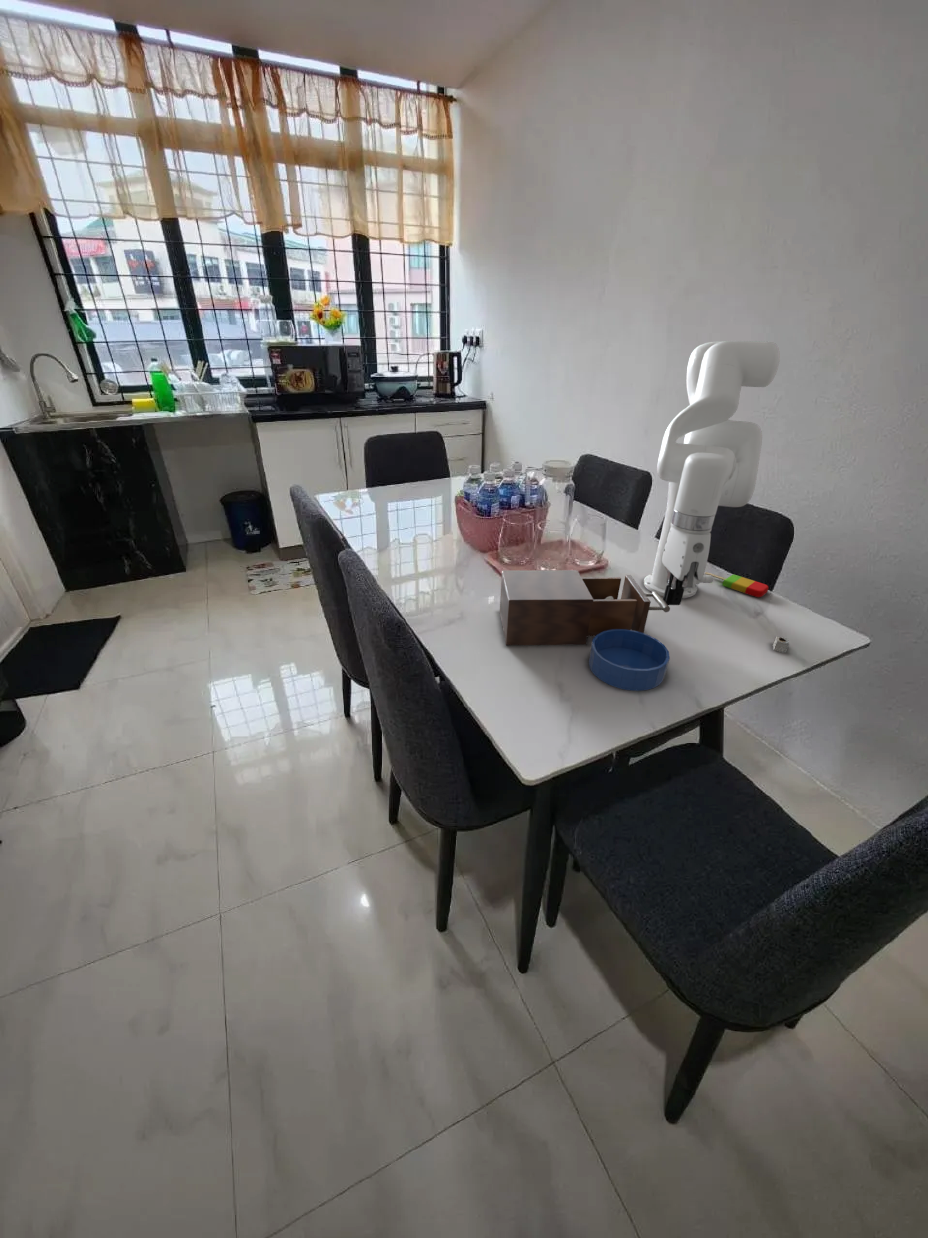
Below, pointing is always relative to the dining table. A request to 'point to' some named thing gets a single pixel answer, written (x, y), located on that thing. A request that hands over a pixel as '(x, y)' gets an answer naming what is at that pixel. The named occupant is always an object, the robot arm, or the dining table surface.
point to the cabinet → (544, 607)
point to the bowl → (628, 659)
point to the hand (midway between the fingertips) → (671, 603)
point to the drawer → (619, 604)
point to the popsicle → (743, 585)
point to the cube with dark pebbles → (780, 644)
